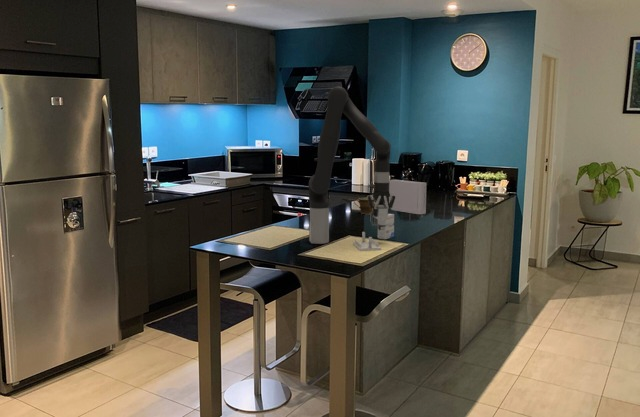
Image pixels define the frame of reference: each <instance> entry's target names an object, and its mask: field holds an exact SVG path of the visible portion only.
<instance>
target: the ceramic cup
mask: <svg viewBox="0 0 640 417" xmlns="http://www.w3.org/2000/svg"><path fill="white" fill-rule="evenodd" d="M355 202H358V204H359V205H358V204H356V203H355ZM374 202H375V199H374V197H372V204H373V205H374ZM353 204H354V205H356V206H357V207H358V208H359V209H360V214H361V215H362V214H365V215H364V216H371V215H373V208H371V207H369V203H368V199H367V197H359V198H358V199H355V200H354V201H353ZM370 214H371V215H370Z"/></svg>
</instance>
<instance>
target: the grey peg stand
mask: <svg viewBox="0 0 640 417" xmlns="http://www.w3.org/2000/svg"><path fill="white" fill-rule="evenodd" d="M361 233H362V234H361V235H362V236H361V241H359V240H357V239H355V240H354V241H353V243H352V244H353V246H354V247H355V248H356V249H357V250H358V251H364V252H365V251H382V247H381V246H380V243H378V241H377V240H375V239H373V237H372V236H368V241H366V231H362V232H361Z"/></svg>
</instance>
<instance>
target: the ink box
mask: <svg viewBox="0 0 640 417" xmlns="http://www.w3.org/2000/svg"><path fill="white" fill-rule="evenodd" d="M394 237H395V214H394V213H388V220H377V239H381V240H388V239H391V238H394Z"/></svg>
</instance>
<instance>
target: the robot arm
mask: <svg viewBox="0 0 640 417" xmlns="http://www.w3.org/2000/svg"><path fill="white" fill-rule="evenodd" d="M343 114H344V115H345V116H346V117H347V118H348V120H350V122H351V124H353V125H354V126H353V127H355V128H356V130H357V131H358V132H359V133H360V134H361V135H362V137H364V139H365V140H366V141H368V143H369V144H370V146H371V147H372V148H373V149H374V151H375V161H374V173H373V193H372V194H370V195H366V198H367V199H368V203H369V207H371V208H373V209H372V215H373V218H374V217H377V206H378V205H380V203H383V205H384V206H386V207H388V210H390V209H391V208H392V207H393V203H394V200H395V196H394V195H390V193H389V184H390V180H391V177H390V164H391V163H390V159H391V158H390V157H391V144H390V141H388V139H386V138H385V137H384V136H383V135H381V133H380V132H379V130H378V129H377V127H376V126H375V125H374V124H373V123H372V121H371V120H369V118H367V117H366V116H365V115H364V114H363V113H362V112H361V111H360V109H358V108H357V106H356V105H355V104H354V103H353V100H351V98H350V97H349V93H348V92H347V90H346V88H344V87H342V86H334V87H332V88H331V89H330V90H329V92H328V96H327V105H326V114H325V117H324V120H323V123H322V126H321V131H320V135H319V139H318V140H319V141H318V146H317V164H316V169H315V171H314V172H315V173H314V174H313V175H312V176H311V177H310V178H309V180H308V202H309V223H308V224H309V225H308V227H309V228H308V229H309V230H308V232H309V235H308V236H309V237H308V238H309V243H311V244H315V245H318V244H319V245H320V244H321V245H322V244H327V243H328V244H329V242H330V206H329V205H330V203H329V202H330V201H329V198H328V191H329V189H330V187H331V180H332V171H333V166H334V162H335V158H336V155H337V152H338V151H337V150H338V146H339V141H340V136H341V128H342V126H341V125H342V123H341V122H342V121H341V120H342V116H343ZM389 197H390V199H391V200H390V203H389ZM372 198H374V204H372Z"/></svg>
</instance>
